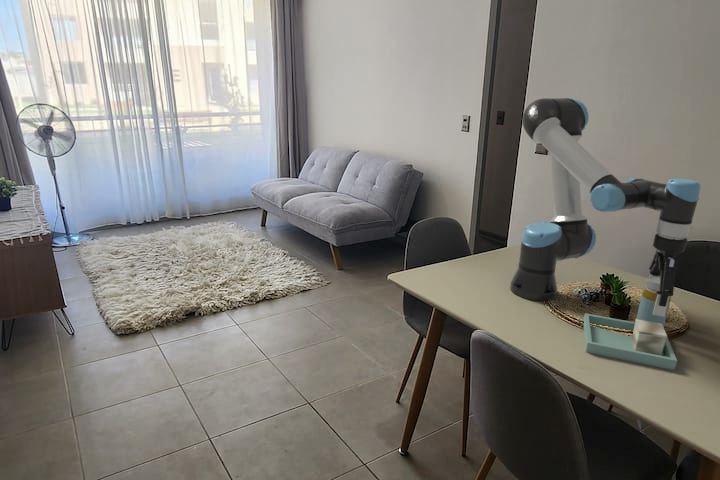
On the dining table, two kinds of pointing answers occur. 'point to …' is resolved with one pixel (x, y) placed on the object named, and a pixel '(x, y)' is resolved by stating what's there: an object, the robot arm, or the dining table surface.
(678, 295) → the dining table surface
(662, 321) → the bottle
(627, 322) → the tote
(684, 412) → the dining table surface
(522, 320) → the dining table surface
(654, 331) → the beige rectangular box
